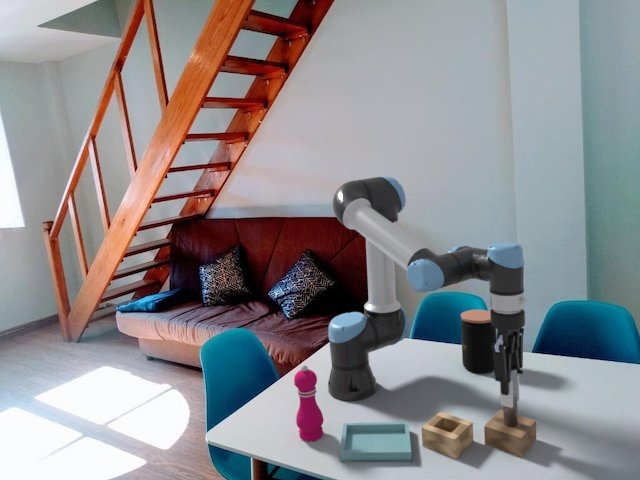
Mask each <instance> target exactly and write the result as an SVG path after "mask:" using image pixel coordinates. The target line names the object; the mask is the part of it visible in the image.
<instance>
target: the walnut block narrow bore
mask: <svg viewBox="0 0 640 480" xmlns="http://www.w3.org/2000/svg"><path fill="white" fill-rule="evenodd" d="M483 428H484V445H485V446H487V447H491V448H492V449H493V448H494V449H497V450H499V451H502V452H505V453H507V454H509V455H513V456H516V457H519V458H523V457H524V456H525V454H526V453H527V452H528V451H529V450H530V448H531V447H532V446H533V445H534V443H535V442H536V440H537V420H536V419H533V418H529V417H525V416H521V415H520V414H519V415H518V425H517V426H516V427H508V426H506V425H504V422H503V410H502V409H499V410H498V411H497V412H496V413H495V414H494V415H493V416H492V417H491V418H490V419H489V421H487V423H486V424H484V427H483Z"/></svg>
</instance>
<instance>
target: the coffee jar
mask: <svg viewBox="0 0 640 480" xmlns="http://www.w3.org/2000/svg"><path fill="white" fill-rule="evenodd" d="M460 318H461V321H460V329H461V333H460V334H461V354H462V355H461V357H462V358H461V359H462V365H463V368H465V370H466V371H468V372H470V373H473V374H476V375H477V374H479V375H485V374H490V373H492V372H494V359H493V351H492V348H491V345H492V343H496V342H497V329H496V328H495V327H494V326H492V324H491V316H490V310H485V309H470V310H465V311H463V312H461V314H460Z"/></svg>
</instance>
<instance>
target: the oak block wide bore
mask: <svg viewBox="0 0 640 480" xmlns="http://www.w3.org/2000/svg"><path fill="white" fill-rule="evenodd" d="M421 441H422V442H421V443H422V447H424V448H427V449H430V450H432V451H434V452H437V453H440V454H443V455H445V456H447V457H450V458H451V459H452V458H453V459H454V460H456V459H457V458H459V456H460V455H462V454H463V452H464V451H465V450H466V449H467V448H468V447H469V446H470V445H471V444H472V443H473V442H474V423H473V421H470V420H467V419H464V418H461V417H458V416H455V415H451V414H449V413H445V412H444V411H443V412H442V411H439V412H438V413H436V415H434V416H433V417H432V418H431V419H430V420H429V421H427V422H426V423H425V424H423V426H422V427H421Z"/></svg>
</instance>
